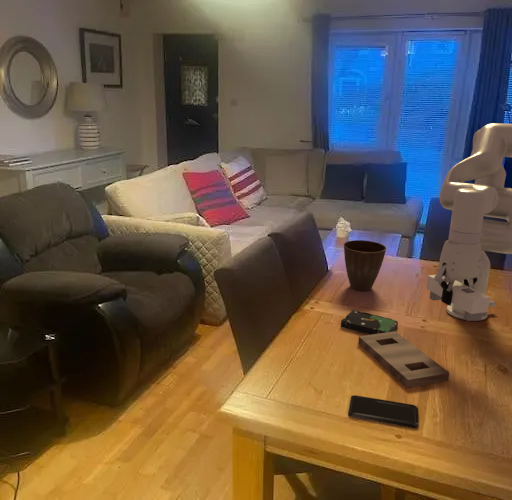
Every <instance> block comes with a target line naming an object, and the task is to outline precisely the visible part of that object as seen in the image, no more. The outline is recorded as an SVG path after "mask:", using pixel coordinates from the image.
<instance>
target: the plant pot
mask: <svg viewBox="0 0 512 500" xmlns="http://www.w3.org/2000/svg"><path fill="white" fill-rule="evenodd" d="M386 251H387V247H386V245H384V244H382V243H380V242H377V241H376V242H375V241H372V240H363V239H362V240H361V239H356V240H354V239H353V240H349V241H345V242H344V243H343V254H344V263H345V269H346V275H347V278H348V282H349V285H350V288H351V289H352V290H355V291H359V292H366V291H367V292H368V291H370V290H371V289H372V288H373V286H374V284H375V283H376V279H377V277H378V275H379V272H380V270H381V267H382V264H383V261H384V259H385V255H386Z"/></svg>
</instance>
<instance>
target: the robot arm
mask: <svg viewBox="0 0 512 500" xmlns="http://www.w3.org/2000/svg"><path fill="white" fill-rule="evenodd" d="M504 157H505V158H512V123H499V122H498V123H497V122H496V123H495V122H493V123H488V124H486V125H484V126H482V127H481V128H480V129H478V130H477V131H475V133H474V134H473V139H472V150H471V154H470V156H468V157H467V158H464V159H463V160H461V161H459V162H458V163H456V164H455V165H453V166H452V167H451V168H450V169H449V170H448V172H447V174H446V175H445V178H444V181H443V184H442V186H441V190H440V194H439V203H440V205H441V206H442V208H443V209H446V210H449V211H452V212H451V219H450V226H449V231H448V232H449V234H448V239H447V240H445V241H444V244H443V247H442V249H441V253H440V258H439V261H438V267H437V273H436V274H435V275H436V276H435V277H434V280H436V281H437V282H438V283H439V284H440V286H441V288H443V291H442V299H441V300H440V301H441V302H442V303H443V304H445V305H447V306H446V312H447V313H448V314H449V315H450V316H452V317H454V318H456V319H461V320H463V321H464V320H465V321H467V320H466V319H464V314H465V310H463V309H461V308H460V307H458V306H456V305H454V304H453V303H451V301H452V294H453V291H451V289H452V286H453V284H454V281H455V280H456V281H458V282H460V283H462V284H464V285H466V286H468V287H470V288H472V289H474V290H476V291H478V292H480V293H482V294H484V295H486V294H487V290H488V289H487V288H488V282H489V276H490V271H491V261H490V259H489V257H488V255H487V253H486V252H492V253H499V254H506V255H512V188H511V187H505V183H506V182H505V181H506V178H507V177H506V176H507V171H506V170H505V168H504V166H503V165H502V164H503V160H504ZM473 180H475V182H474V183H471V182H469V181H473ZM468 182H469V183H468ZM484 217H487V218H497V219H503V220H506V221H499V220H492V219H486V218H485V219H484ZM443 276H444V279H442V278H443ZM448 281H449V283H448V284H447V282H448ZM486 296H487V295H486ZM496 306H497V305H496V301H495V300H489V305H488V308H493V307H496ZM488 315H489V313H488V311H487V312H483V313H482V316H481V319H479V320H472V321H473V322H478V321H484V320H486V319H487V318H488ZM472 321H471V322H472Z"/></svg>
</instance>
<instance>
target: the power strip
mask: <svg viewBox="0 0 512 500" xmlns="http://www.w3.org/2000/svg"><path fill="white" fill-rule="evenodd" d="M435 276H436V274H432V275H431V274H429V275H427V282H426V283H427V284H426V288H425V289H426V290H427V291H429V292H430V293H429V299H430V300H431V301H439V300H440V301H441V299H442V291H443V288H441V286H440V284H439V283H438V282H437V281H436V280H434V277H435ZM442 279H444V276H443V278H442ZM448 283H449V281H448V282H447V284H448ZM451 291H453V294H452V301H451V303H453V304H454V305H456V306H458V307H460V308H461V309H463V310H465V314H464V319H466V320H465V321H467V322H470V321H471V322H472V320H479V319H481V316H482V313H483V312H488V310H489V307H488V305H489V301H490V299H491V297H490V296H489V295H484V294H482V293H480V292H478V291H476V290H474V289H472V288H470V287H468V286H466V285H464V284H462V283H460V282H458V281H456V280H455V281H454V284H453V286H452V289H451ZM464 319H463V320H464Z"/></svg>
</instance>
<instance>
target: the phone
mask: <svg viewBox="0 0 512 500" xmlns="http://www.w3.org/2000/svg"><path fill="white" fill-rule="evenodd" d="M347 412H348V417H350V418H355V419H361V420H367V421H370V422H371V421H372V422H378V423H383V424H389V425H395V426H400V427H406V428H412V429H417V428H418V427H419V424H420V422H419V421H420V418H419V416H420V415H419V407H418V406H417V405H415V404H410V403H405V402H404V403H403V402H398V401H393V400H392V401H391V400H385V399H381V398H375V397H374V398H373V397H368V396H361V395H356V394H355V395H351V397H350V400H349V405H348V411H347Z"/></svg>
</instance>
